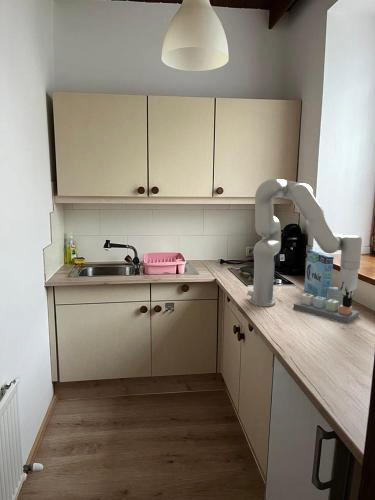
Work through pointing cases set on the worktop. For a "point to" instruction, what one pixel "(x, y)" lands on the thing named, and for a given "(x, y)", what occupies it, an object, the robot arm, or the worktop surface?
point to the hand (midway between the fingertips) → (346, 305)
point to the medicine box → (335, 294)
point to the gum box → (318, 273)
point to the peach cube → (345, 310)
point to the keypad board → (326, 312)
